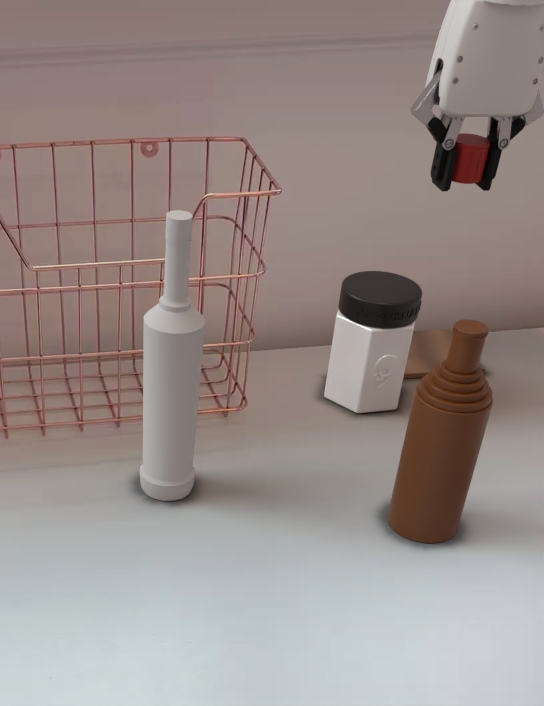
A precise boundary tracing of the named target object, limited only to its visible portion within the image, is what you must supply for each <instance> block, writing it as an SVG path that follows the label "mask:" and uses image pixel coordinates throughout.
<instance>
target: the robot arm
mask: <svg viewBox="0 0 544 706" xmlns="http://www.w3.org/2000/svg"><path fill="white" fill-rule="evenodd" d="M543 71H544V0H450V2H449V4H448V7H447V9H446V12H445V15H444V18H443V21H442V23H441V26H440V29H439V32H438V35H437V39H436V42H435V46H434V49H433V54H432V57H431V60H430V64H429V68H428V71H427V77H426V82H425V85H424V89H423V90H422V92H421V93H420V94H419V96H418V97H417V98H416V100H415V101H414V103H413V104H412V105H411V107H410V114H411V115H412V116H413V117H414V118H416V119H417V120H418V121H419V122H420V123H422V124H423V125H424V126H425V127H426V129H427V130H428V132H429V133H430V135H431V136H432V138H433V141H435V143H436V144H435V147H434V148H435V149H434V153H433V159H432V163H431V168H430V178H431V183H432V184H433V185H435V186H436V188H438V190H440V191H441V192H449V191H450V190H451V185H452V182H453V181H452V178H453V173H454V169H455V164H456V160H457V156H458V151H457V150H455V149H454V146H455V142H456V140H457V137H458V134H460V132H461V130H462V126H463V123H464V121H465V118H479V117H480V118H488V119H487V130H486V137H485V138H487V139H489V140H490V146H489V151H488V155H487V159H486V163H485V167H484V171H483V175H482V179H481V181H480V182H478V183H474V184H475V185H476V186H477V187H479V188H480V189H481V190H482V191H484V192H488V191H490V190H491V188H492V183H493V180H494V179H495V178H496V176H497V172H498V168H499V164H500V161H501V157H502V152H503V150H506V149H507V148H508V147H509V145H510V143H511V140H513V139H514V138H515V137H516V136H517V135H518V134H520V132H522V131H523V130H524V128H526V126H529V125H531V124H533V123H534V122H535V121H537V120H539V119H541V118H542V117H543V115H544V106H543V101H542V97H541V94H540V89H539V88H540V84H541V80H542V75H543ZM434 105H435V106H438V107H439V111H440V114H439V117H438V116H437V115H435V113H433V107H434Z"/></svg>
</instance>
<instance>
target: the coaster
mask: <svg viewBox="0 0 544 706" xmlns="http://www.w3.org/2000/svg"><path fill="white" fill-rule="evenodd" d="M452 334H453V332H452V330H450V328H444V329H441V328H440V329H425V330H414V331H413V336H412V341H411V345H410V350H409V355H408V360H407V364H406V369H405V374H404V379H403V380H405V379H417V378H423V377H424V376H425V375H427V374H428V373H429V372H430V371H431V370H433V369H434V368H435V367H436V366H437V365H439V364H441V362H442V361H443V360H445V359H447V355H448V351H449V347H450V342H451V338H452ZM479 366H480V367H481V369H482V372H483V373H484V371H485V368H484V367H483V366H482V365H481V363H479Z"/></svg>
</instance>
